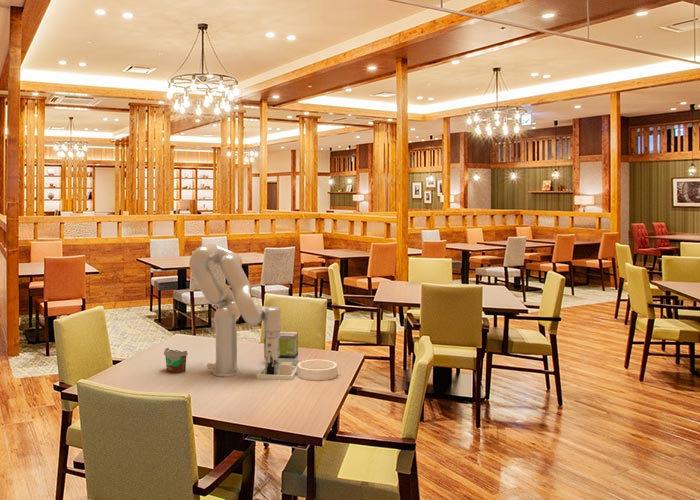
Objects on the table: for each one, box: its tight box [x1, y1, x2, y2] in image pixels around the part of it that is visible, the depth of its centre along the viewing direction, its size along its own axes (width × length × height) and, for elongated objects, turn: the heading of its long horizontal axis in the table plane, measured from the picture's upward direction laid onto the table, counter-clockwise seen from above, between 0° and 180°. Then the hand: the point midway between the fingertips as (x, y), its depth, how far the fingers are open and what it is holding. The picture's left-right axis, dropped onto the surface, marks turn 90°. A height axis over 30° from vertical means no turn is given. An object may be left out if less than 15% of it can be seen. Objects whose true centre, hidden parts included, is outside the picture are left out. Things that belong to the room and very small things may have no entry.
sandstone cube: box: [279, 362, 293, 376], centre depth 278 cm, size 5×5×5 cm
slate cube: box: [264, 362, 279, 375], centre depth 278 cm, size 5×5×5 cm
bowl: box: [296, 358, 338, 381], centre depth 278 cm, size 18×18×5 cm
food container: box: [163, 347, 188, 374], centre depth 281 cm, size 12×6×10 cm, turn 62°
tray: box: [256, 365, 297, 381], centre depth 278 cm, size 16×16×2 cm
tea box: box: [263, 331, 299, 366], centre depth 298 cm, size 15×10×15 cm, turn 84°
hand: (272, 372), depth 279 cm, fingers closed on slate cube, 4 cm apart
